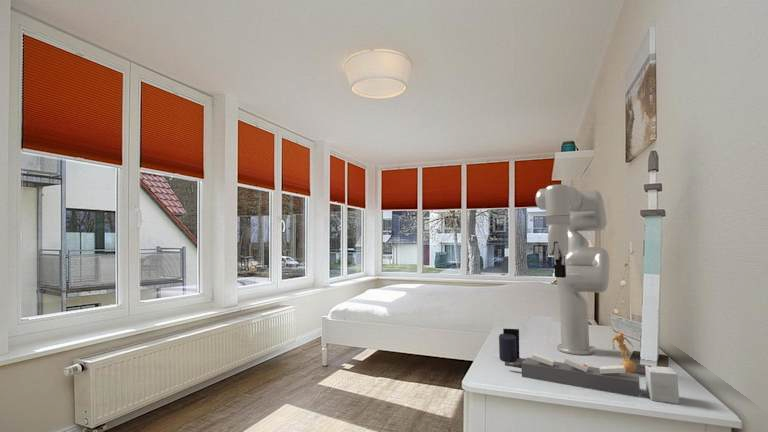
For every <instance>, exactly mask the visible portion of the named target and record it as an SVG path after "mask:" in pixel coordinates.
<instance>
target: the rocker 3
mask: <svg viewBox="0 0 768 432" xmlns="http://www.w3.org/2000/svg"><path fill="white" fill-rule="evenodd" d="M599 368H600V369H599V370H600V374H605V373H625V371H626V369H625V366H624V365H621V364H620V365H603V366H599Z"/></svg>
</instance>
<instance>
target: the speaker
mask: <svg viewBox="0 0 768 432" xmlns="http://www.w3.org/2000/svg"><path fill="white" fill-rule="evenodd" d="M498 349H499V350H498V351H499V352H498V353H499V359H500V360H501V361H503V362H511V363H515V362H516V361H517V359H520V328H503V332H502V333H500V334H499V335H498Z"/></svg>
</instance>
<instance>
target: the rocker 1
mask: <svg viewBox="0 0 768 432" xmlns="http://www.w3.org/2000/svg"><path fill="white" fill-rule="evenodd" d="M531 358H532V359H534V360H537V361H539V362H542V363H545V364H548V365H551V366H553V365H554V364H555V362H556V359H554V358H551V357H548V356H545V355H542V354H540V353H537V352H533V354H532V356H531Z"/></svg>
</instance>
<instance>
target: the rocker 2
mask: <svg viewBox="0 0 768 432" xmlns="http://www.w3.org/2000/svg"><path fill="white" fill-rule="evenodd" d="M563 363H566V364H568V365H571V366H573V367H575V368H577V369H580V370H582V371H584V372H587V370H588V367H590V365H589V364H586V363H584V362H581V361H579V360H576V359H574V358H571V357H570V356H566V357H565V358H564V362H563Z"/></svg>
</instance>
